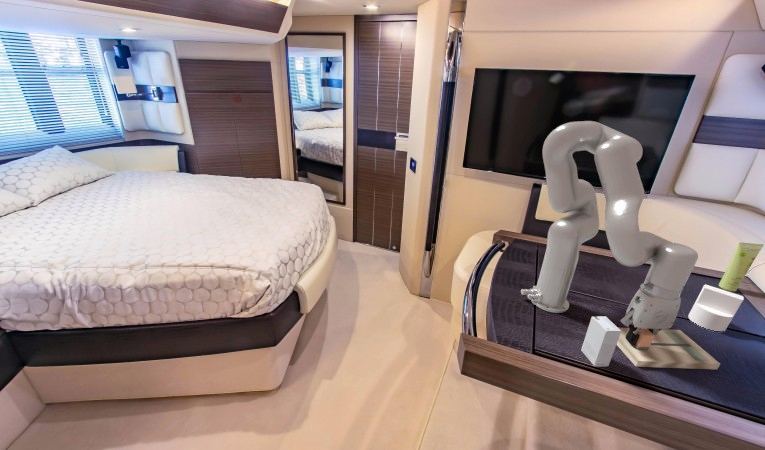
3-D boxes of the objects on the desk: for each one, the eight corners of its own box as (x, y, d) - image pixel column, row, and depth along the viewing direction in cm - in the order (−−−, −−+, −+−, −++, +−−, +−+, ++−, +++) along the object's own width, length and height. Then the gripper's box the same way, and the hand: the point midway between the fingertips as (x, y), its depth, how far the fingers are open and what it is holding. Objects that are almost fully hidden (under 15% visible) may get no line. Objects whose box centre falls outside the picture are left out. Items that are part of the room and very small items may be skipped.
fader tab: (637, 348, 89) (643, 335, 87) (625, 335, 93) (630, 323, 92) (648, 349, 89) (654, 335, 87) (635, 336, 93) (641, 323, 92)
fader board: (635, 366, 86) (638, 360, 85) (605, 332, 98) (607, 327, 97) (717, 369, 86) (720, 363, 85) (677, 335, 98) (679, 329, 97)
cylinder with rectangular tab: (686, 321, 104) (702, 291, 99) (689, 309, 110) (704, 280, 105) (725, 336, 98) (744, 304, 93) (725, 323, 104) (743, 292, 99)
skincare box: (609, 366, 86) (624, 331, 81) (593, 367, 85) (607, 331, 81) (593, 349, 91) (607, 315, 87) (578, 349, 91) (591, 315, 86)
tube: (733, 293, 120) (759, 247, 112) (715, 286, 124) (739, 241, 116) (738, 289, 123) (764, 244, 115) (720, 283, 127) (744, 238, 119)
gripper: (640, 296, 80) (616, 351, 88) (705, 298, 80) (676, 353, 88) (620, 279, 87) (599, 332, 95) (680, 281, 87) (655, 334, 95)
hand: (636, 341), depth 91 cm, fingers closed on fader tab, 3 cm apart
